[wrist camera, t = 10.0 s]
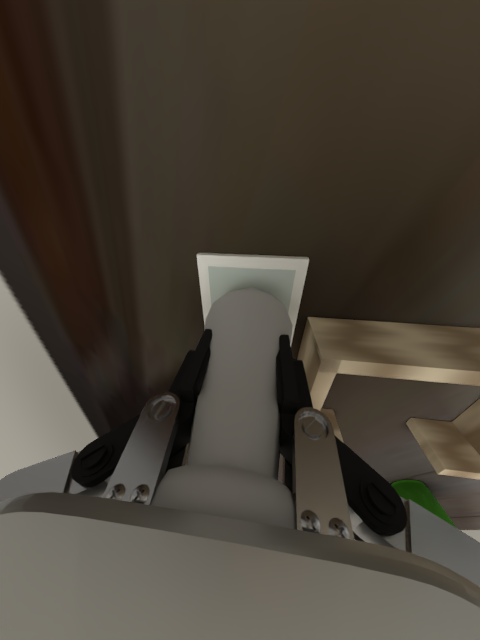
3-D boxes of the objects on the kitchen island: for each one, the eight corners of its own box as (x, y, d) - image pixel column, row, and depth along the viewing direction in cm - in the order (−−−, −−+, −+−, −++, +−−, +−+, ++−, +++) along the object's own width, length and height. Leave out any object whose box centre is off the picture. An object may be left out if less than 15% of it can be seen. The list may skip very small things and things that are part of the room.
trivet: (307, 256, 13) (309, 259, 13) (290, 342, 18) (290, 347, 17) (198, 252, 14) (196, 255, 14) (207, 336, 19) (206, 340, 18)
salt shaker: (243, 349, 17) (204, 618, 6) (199, 303, 15) (20, 592, 4) (302, 319, 15) (409, 676, 4) (260, 259, 12) (223, 688, 2)
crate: (574, 334, 14) (699, 390, 10) (456, 428, 22) (501, 482, 18) (307, 316, 16) (322, 358, 12) (284, 409, 24) (288, 455, 20)
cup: (441, 493, 32) (512, 612, 23) (382, 495, 35) (423, 600, 26) (438, 472, 28) (522, 604, 19) (372, 477, 31) (416, 591, 22)
